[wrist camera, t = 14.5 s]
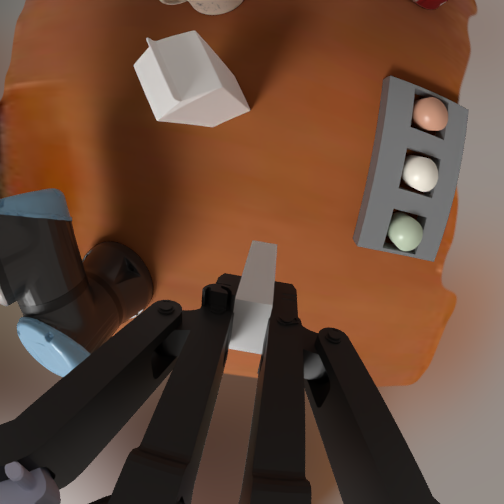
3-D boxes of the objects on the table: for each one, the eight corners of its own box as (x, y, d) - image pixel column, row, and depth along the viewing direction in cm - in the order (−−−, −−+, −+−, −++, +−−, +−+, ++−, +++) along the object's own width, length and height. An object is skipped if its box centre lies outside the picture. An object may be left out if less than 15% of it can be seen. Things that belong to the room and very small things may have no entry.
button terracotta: (432, 134, 33) (445, 135, 29) (406, 124, 33) (418, 124, 29) (436, 106, 31) (449, 104, 27) (410, 95, 31) (422, 92, 28)
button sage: (407, 243, 40) (416, 253, 36) (381, 238, 40) (390, 248, 37) (415, 215, 38) (426, 223, 34) (389, 208, 38) (399, 216, 35)
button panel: (426, 254, 41) (433, 261, 38) (352, 238, 41) (357, 246, 38) (458, 110, 31) (468, 109, 28) (383, 79, 31) (390, 75, 28)
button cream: (422, 189, 36) (434, 195, 33) (396, 182, 37) (406, 186, 33) (428, 160, 35) (441, 163, 31) (402, 151, 35) (413, 153, 31)
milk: (234, 75, 34) (183, 13, 13) (251, 111, 36) (215, 77, 15) (195, 93, 35) (112, 56, 15) (211, 128, 37) (137, 120, 17)
